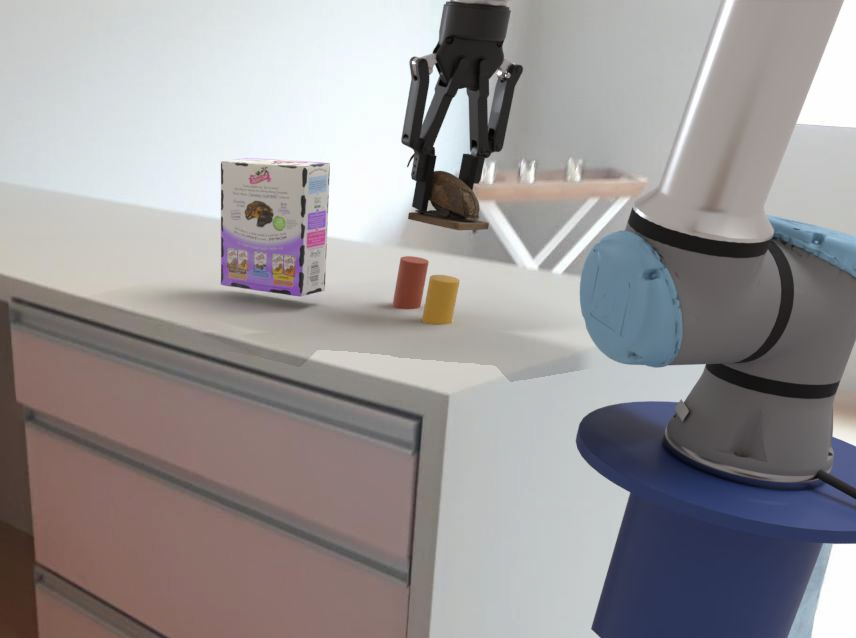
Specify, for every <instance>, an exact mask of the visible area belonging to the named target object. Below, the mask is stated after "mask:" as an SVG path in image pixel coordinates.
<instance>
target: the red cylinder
mask: <svg viewBox="0 0 856 638" xmlns="http://www.w3.org/2000/svg"><path fill="white" fill-rule="evenodd" d="M429 263H430V262H429V260H428V259H426V258H423V257H419V256H411V255H410V256H409V255H408V256H407V255H405V256H401V257H400V259H399V265H398V271H397V276H396V282H395V288H394V294H393V300H392V305H391V306H392V307H393V308H395V309H399V310H416V309H420V308H421V306H422V301H423V295H424V290H425V284H426V278H427V274H428V267H429Z"/></svg>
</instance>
